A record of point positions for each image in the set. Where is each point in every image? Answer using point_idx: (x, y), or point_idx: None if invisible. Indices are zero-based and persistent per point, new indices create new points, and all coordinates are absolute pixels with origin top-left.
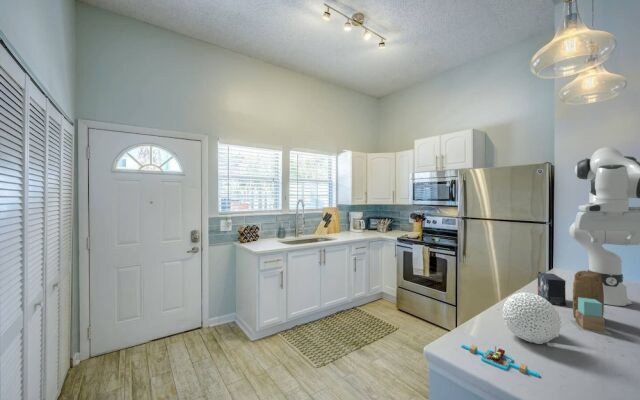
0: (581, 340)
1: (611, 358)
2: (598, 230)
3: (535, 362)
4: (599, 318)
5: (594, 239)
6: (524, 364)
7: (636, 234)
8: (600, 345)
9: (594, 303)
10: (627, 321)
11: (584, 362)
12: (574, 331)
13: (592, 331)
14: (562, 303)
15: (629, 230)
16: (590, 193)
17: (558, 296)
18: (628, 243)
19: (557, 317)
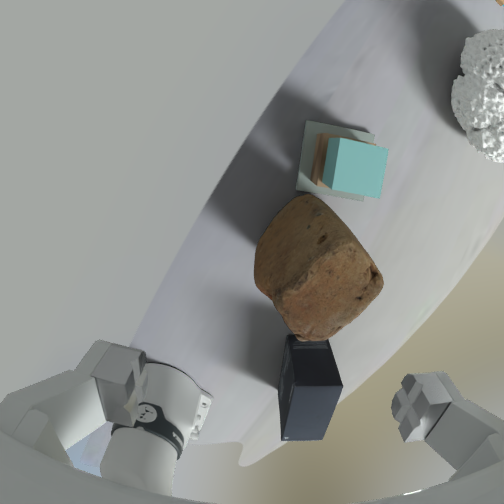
0: (389, 91)
1: (371, 21)
2: (494, 465)
3: (486, 13)
4: (337, 135)
5: (446, 387)
6: (501, 1)
7: (4, 400)
8: (360, 72)
9: (360, 142)
10: (186, 263)
11: (424, 7)
12: (378, 141)
13: (347, 129)
14: (295, 338)
15: (40, 471)
16: None
17: (307, 350)
18: (126, 348)
19: (488, 38)
